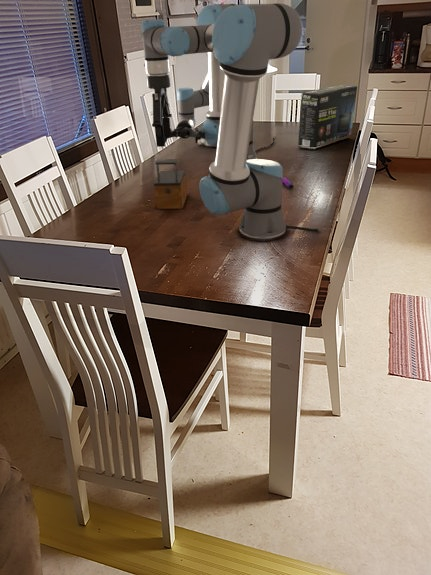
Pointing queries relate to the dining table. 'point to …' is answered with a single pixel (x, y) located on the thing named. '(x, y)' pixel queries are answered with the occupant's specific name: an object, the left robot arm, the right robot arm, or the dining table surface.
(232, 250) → the dining table surface
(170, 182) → the lid
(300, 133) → the router box
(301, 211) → the dining table surface
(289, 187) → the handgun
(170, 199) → the chest
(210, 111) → the left robot arm
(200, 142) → the fossil
